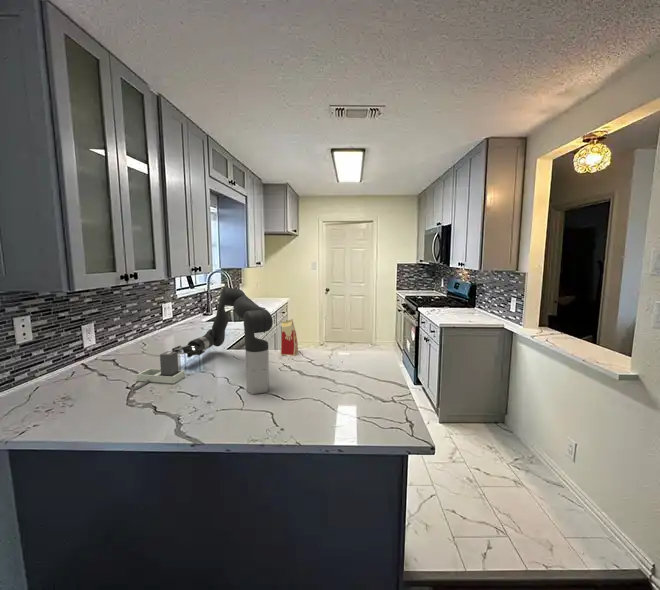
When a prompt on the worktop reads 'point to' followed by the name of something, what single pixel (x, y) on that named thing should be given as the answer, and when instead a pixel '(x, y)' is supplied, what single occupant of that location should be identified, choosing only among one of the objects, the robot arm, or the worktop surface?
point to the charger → (169, 363)
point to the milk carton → (289, 339)
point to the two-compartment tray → (157, 377)
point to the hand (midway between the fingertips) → (179, 354)
